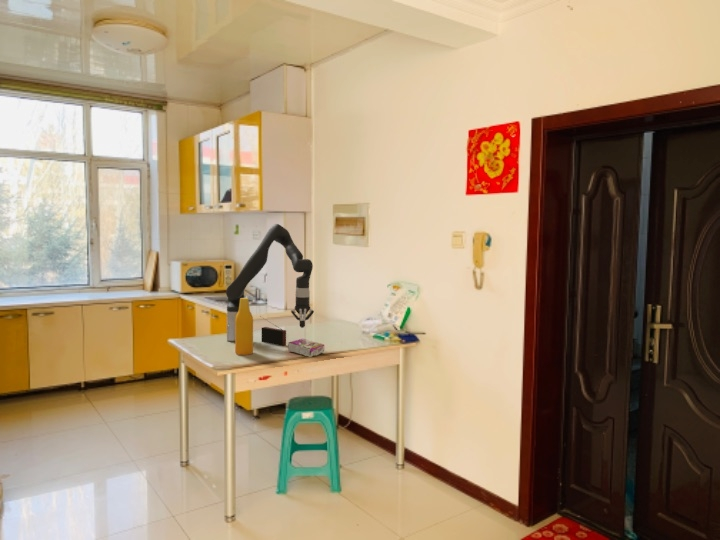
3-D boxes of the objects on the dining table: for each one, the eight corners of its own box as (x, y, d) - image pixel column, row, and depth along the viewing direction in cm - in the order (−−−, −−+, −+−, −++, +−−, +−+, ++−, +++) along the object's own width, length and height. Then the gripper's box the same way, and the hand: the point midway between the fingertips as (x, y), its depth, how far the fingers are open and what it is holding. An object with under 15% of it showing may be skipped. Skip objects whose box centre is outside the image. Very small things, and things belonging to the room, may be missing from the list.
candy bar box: (302, 337, 288) (324, 344, 278) (302, 346, 288) (324, 353, 278) (287, 341, 279) (310, 348, 269) (287, 350, 280) (310, 357, 270)
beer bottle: (231, 353, 274) (231, 298, 272) (244, 350, 282) (244, 296, 280) (243, 356, 269) (243, 300, 267) (256, 352, 277) (257, 298, 274)
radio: (286, 345, 296) (286, 318, 295) (282, 346, 294) (283, 319, 293) (262, 340, 307) (262, 315, 306) (259, 341, 304) (259, 316, 303)
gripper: (290, 297, 280) (290, 329, 281) (315, 296, 283) (315, 328, 284) (289, 295, 287) (289, 326, 288) (313, 294, 290) (313, 325, 291)
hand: (302, 327), depth 286 cm, fingers closed
